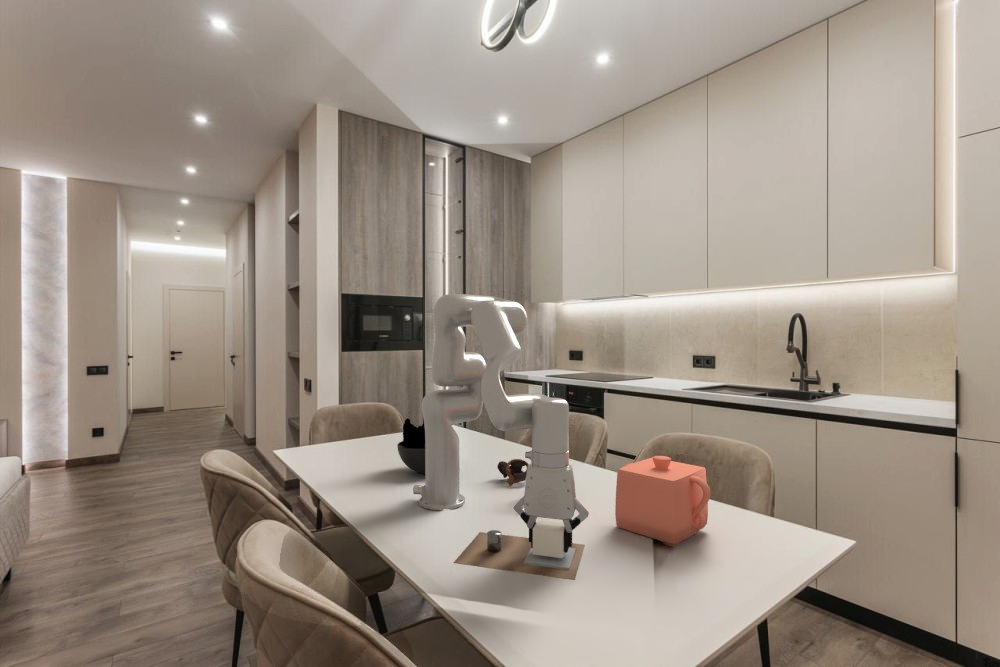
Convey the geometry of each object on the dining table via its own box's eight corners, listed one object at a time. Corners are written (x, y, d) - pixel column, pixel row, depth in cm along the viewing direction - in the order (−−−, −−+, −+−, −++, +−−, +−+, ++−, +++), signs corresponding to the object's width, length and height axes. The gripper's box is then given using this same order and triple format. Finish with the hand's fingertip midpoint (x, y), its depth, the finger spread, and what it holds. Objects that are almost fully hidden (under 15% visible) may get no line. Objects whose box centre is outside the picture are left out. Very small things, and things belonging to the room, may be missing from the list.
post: (485, 551, 101) (485, 534, 101) (489, 545, 104) (489, 529, 104) (499, 553, 100) (499, 536, 100) (503, 547, 103) (503, 531, 103)
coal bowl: (463, 466, 175) (463, 414, 175) (444, 482, 156) (444, 423, 156) (411, 463, 180) (411, 412, 180) (387, 478, 160) (387, 421, 160)
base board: (453, 570, 96) (453, 562, 96) (479, 538, 111) (479, 532, 111) (574, 587, 89) (574, 579, 89) (585, 551, 104) (585, 544, 104)
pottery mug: (534, 480, 160) (536, 461, 156) (522, 500, 153) (524, 481, 148) (502, 467, 164) (503, 449, 160) (489, 486, 157) (489, 467, 153)
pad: (523, 563, 96) (523, 561, 96) (533, 545, 104) (533, 543, 104) (569, 570, 93) (569, 567, 93) (575, 550, 102) (575, 548, 102)
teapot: (651, 505, 134) (651, 440, 135) (737, 527, 118) (736, 453, 118) (600, 529, 117) (600, 455, 117) (692, 559, 101) (691, 473, 101)
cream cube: (532, 554, 97) (532, 529, 97) (539, 542, 102) (539, 518, 102) (562, 558, 95) (562, 532, 95) (567, 545, 101) (567, 521, 101)
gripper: (504, 460, 98) (504, 550, 97) (591, 466, 93) (591, 561, 93) (514, 452, 105) (514, 535, 105) (595, 457, 100) (595, 545, 100)
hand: (550, 546), depth 99 cm, fingers closed on cream cube, 5 cm apart
